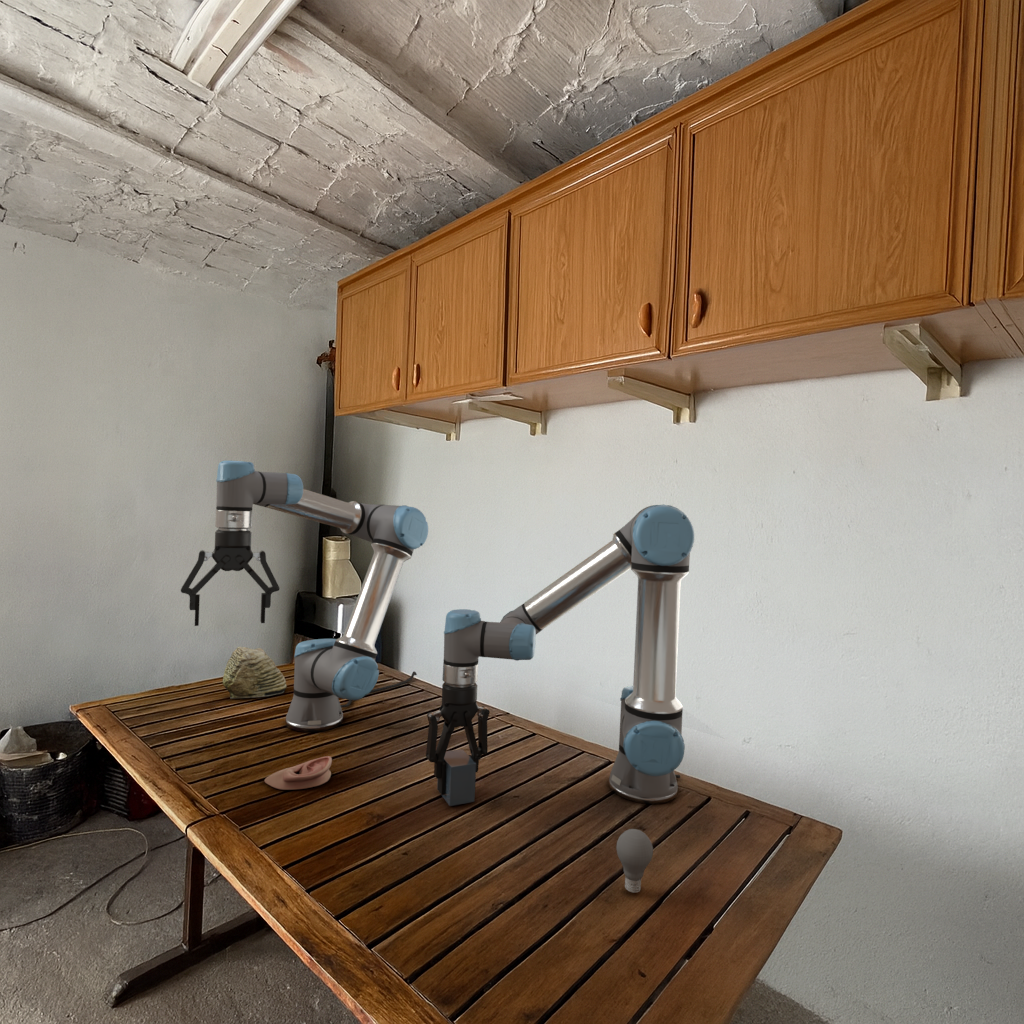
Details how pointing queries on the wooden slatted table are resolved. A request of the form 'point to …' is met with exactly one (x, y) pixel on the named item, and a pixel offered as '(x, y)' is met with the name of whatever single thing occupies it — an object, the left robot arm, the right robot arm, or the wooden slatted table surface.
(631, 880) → the light bulb
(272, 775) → the anatomical model
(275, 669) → the fossil
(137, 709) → the wooden slatted table surface
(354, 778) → the wooden slatted table surface
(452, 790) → the dark grey boxy piece
